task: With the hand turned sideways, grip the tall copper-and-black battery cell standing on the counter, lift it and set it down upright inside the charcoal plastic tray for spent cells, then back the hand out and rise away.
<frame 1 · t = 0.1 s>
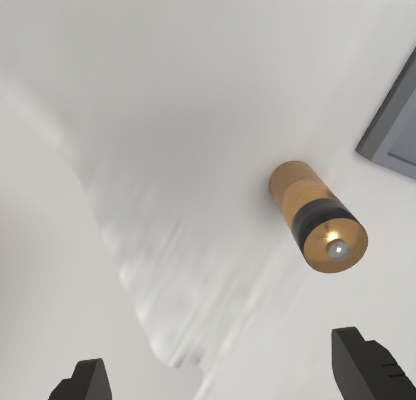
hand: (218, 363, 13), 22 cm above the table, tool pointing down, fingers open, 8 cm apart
battery cell: (292, 182, 34), on the table
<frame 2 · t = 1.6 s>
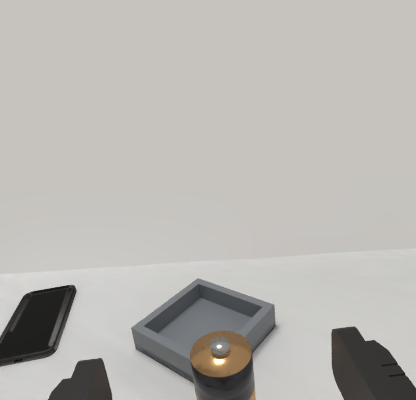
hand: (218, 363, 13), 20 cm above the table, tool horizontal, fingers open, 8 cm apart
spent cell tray: (206, 336, 43), on the table
phone: (39, 325, 50), on the table
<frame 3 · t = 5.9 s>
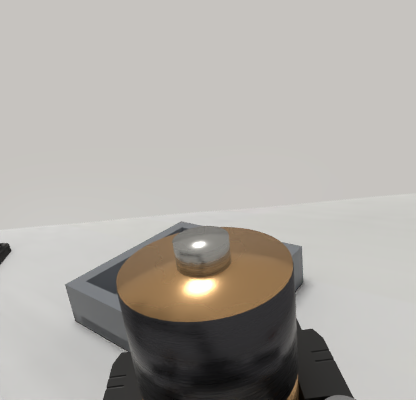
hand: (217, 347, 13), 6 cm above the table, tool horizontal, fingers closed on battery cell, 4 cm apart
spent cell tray: (191, 300, 27), on the table
when the fingers open (8 cm above the table, at t = 11.5 s): battery cell drops 1 cm, resting on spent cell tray.
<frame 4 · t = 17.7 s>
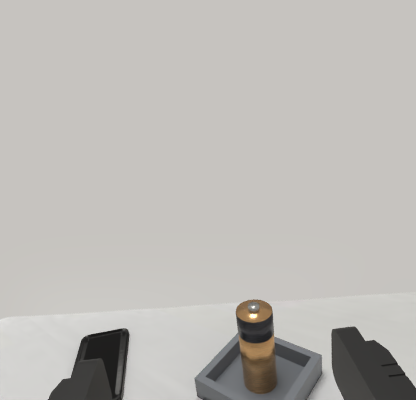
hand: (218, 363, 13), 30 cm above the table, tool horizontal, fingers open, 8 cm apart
battery cell: (260, 380, 48), point 1 cm above the table, touching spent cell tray
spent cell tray: (260, 384, 48), on the table
phone: (100, 370, 55), on the table
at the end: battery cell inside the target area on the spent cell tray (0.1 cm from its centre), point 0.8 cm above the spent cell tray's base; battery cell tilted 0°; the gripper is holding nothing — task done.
